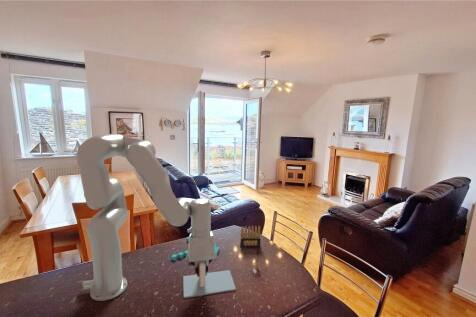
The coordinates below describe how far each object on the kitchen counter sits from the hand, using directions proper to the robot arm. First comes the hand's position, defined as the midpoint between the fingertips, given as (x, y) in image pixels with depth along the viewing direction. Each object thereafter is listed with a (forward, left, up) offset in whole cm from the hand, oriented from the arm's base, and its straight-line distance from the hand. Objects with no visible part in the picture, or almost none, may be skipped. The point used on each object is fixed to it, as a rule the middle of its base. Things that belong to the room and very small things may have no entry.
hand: (201, 273), depth 93 cm
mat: (+3, 0, -5) cm, 6 cm away
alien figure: (+1, +25, -6) cm, 26 cm away
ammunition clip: (+28, +24, -5) cm, 37 cm away
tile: (0, 0, -3) cm, 3 cm away
